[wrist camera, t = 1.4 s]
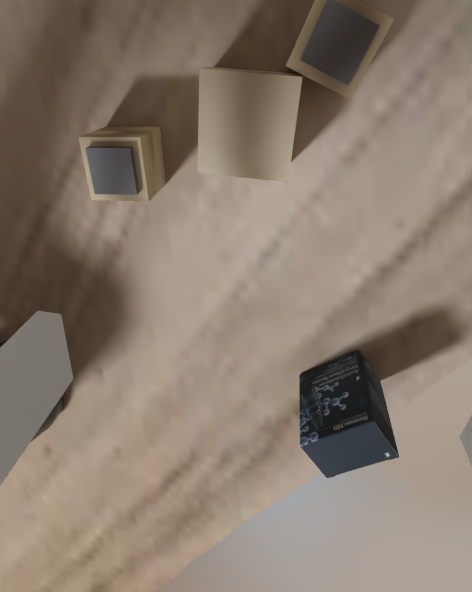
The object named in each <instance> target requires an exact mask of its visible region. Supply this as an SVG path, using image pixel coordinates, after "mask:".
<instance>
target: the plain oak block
mask: <svg viewBox="0 0 472 592" xmlns="http://www.w3.org/2000/svg"><path fill="white" fill-rule="evenodd" d="M301 84H302V75H301V74H295V73H283V72H271V71H259V70H247V69H235V68H223V67H208V68H199V125H198V173H206V174H216V175H226V176H236V177H245V178H255V179H265V180H275V181H284V182H288V180H289V172H290V165H291V158H292V150H293V143H294V136H295V128H296V121H297V114H298V106H299V99H300V92H301Z"/></svg>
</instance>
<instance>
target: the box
mask: <svg viewBox="0 0 472 592" xmlns="http://www.w3.org/2000/svg"><path fill="white" fill-rule="evenodd" d="M300 447H301V448H302V449H303V450H304V451H305V453H306V454H307V455H308V456H309V457H310V459H311V460H312V461H313V462H314V463H315V464H316V466H317V467H318V468H319V469H320V470H321V472H322V473H323V474H324V475H325V477H327V478H330V477H334V476H335V475H338V474H341V473H345V472H348V471H351V470H354V469H358V468H361V467H364V466H368V465H372V464H375V463H379V462H382V461H385V460H391V459H394V458H398V457H399V454H398V451H397V446H396V443H395V439H394V435H393V431H392V427H391V423H390V418H389V414H388V410H387V406H386V402H385V398H384V394H383V390H382V387H381V383H380V381H379V379H378V378H377V376H376V375H375V373H374V372H373V370H372V369H371V367H370V366H369V364H368V363H367V361H366V360H365V358H364V357H363V355H362V354H361V352H360V351H356V352H354V353H352V354H349V355H347V356H344V357H342V358H339V359H337V360H335V361H332V362H330V363H328V364H325V365H323V366H320V367H318V368H315V369H313V370H311V371H308V372H305V373H303V374H301V375H300Z"/></svg>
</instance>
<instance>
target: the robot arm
mask: <svg viewBox="0 0 472 592" xmlns="http://www.w3.org/2000/svg"><path fill="white" fill-rule="evenodd" d="M72 380H73V374H72V369H71V363H70V358H69V353H68V348H67V342H66V337H65V332H64V326H63V321H62V316H61V314H58V313H51V312H44V311H37V312H36V313H35V314H34V315H33V316H32V317H31V318H30V319H29V320H28V321H27V322H26V323H25V324H24V325H23V326H22V327H21V328H20V329H19V330H18V331H17V332H16V333H15V334H14V335H13V336H12V337H11V338H10V339H9V340H8V341H7V342H6V343H5V344H1V343H0V485H1V484H2V482H3V481H4V479H5V478H6V476H7V475H8V473H9V472H10V470H11V469H12V468H13V466H14V465H15V463H16V462H17V460H18V459H19V457H20V456H21V454H22V453H23V452H24V450H25V449H26V447H27V446H28V444H29V443H30V442H31V441H33V440H34V439H35V438H36V437H37V436H39V435H40V434H41V433H42V432H44V431H45V430H47V429H48V428H49V427H50V426H51V425H52V424H53V422H54V421H55V419H56V418H57V416H58V415H59V413H60V412H61V410H62V407H63V401H64V399H63V393H64V392H65V391H66V389H67V388H68V386H69V385H70V383H71V382H72ZM460 439H461V441H462V444H463V446H464V448H465V451H466V453H467V455H468V457H469V460H470V462H471V464H472V416H471V418H470V419H469V421H468V423H467V425H466V427H465V428H464V430H463V432H462V434H461V436H460Z"/></svg>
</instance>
